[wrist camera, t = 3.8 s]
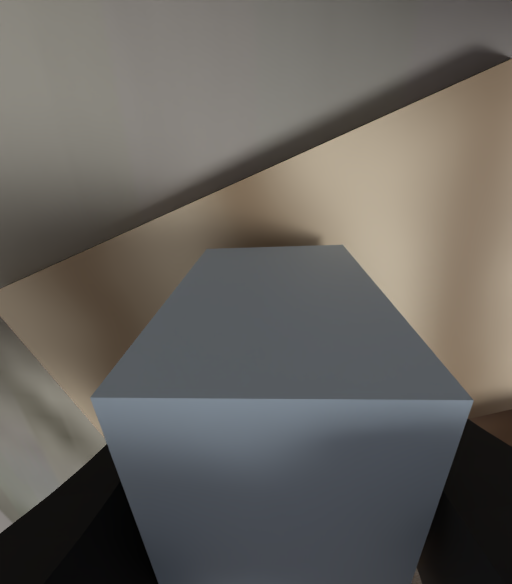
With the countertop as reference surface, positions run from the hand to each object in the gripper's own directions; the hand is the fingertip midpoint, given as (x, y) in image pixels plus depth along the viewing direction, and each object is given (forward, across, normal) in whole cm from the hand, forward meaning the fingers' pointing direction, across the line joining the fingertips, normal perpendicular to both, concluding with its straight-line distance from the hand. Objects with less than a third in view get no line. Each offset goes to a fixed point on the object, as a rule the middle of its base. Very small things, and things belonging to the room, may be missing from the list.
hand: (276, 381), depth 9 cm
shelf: (+3, -1, +4) cm, 5 cm away
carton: (+1, 0, 0) cm, 1 cm away
